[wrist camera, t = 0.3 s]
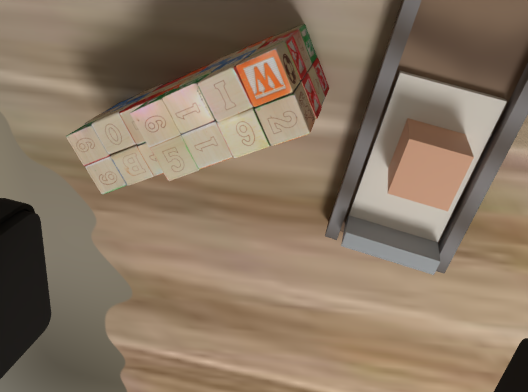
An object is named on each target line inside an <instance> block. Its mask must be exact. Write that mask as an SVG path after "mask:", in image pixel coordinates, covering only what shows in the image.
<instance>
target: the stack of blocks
mask: <svg viewBox="0 0 528 392" xmlns="http://www.w3.org/2000/svg"><path fill="white" fill-rule="evenodd" d="M328 90H329V86H328V84H327V81H326V78H325V76H324V73H323V70H322V68H321V65H320V63H319V60H318V58H317V56H316V53H315V51H314V48H313V45H312V42H311V40H310V37H309V34H308V32H307V29H306V26H305V24H303V25H300V26H298V27H296V28H293V29H291V30H288V31H286V32H284V33H281V34H279V35H277V36H274V37H273V36H272V37H269V38H267V39H265V40H262V41H260V42H258V43H255V44H253V45H251V46H248V47H246V48H244V49H241V50H239V51H236V52H234V53H232V54H229V55H227V56H225V57H222V58H220V59H218V60H216V61H214V62H213V63H211V64H209V65H207V66H205V67H202V68H200V69H198V70H195V71H193V72H191V73H189V74H187V75H185V76H183V77H181V78H178V79H176V80H174V81H171V82H169V83H167V84H165V85H164V84H161V85H159V86H156V87H154V88H152V89H149V90H147V91H145V92H142V93H140V94H138V95H136V96H134V97H132V98H130V99H127V100H125V101H123V102H121V103H118V104H116V105H115V106H113V107H112V108H110V109H108V110H107V111H105V112H103V113H101V114H99V115H98V116H96V117H94V118H93V119H91V120H89V121H88V122H86V123H85V125H84V126H82V127H80V128H79V129H77V130H75V131H74V132H72V133H70V134H69V135H67V136H66V137H67V139H68V141H69V143H70V144H71V146H72V147H73V149H74V151H75V152H76V154H77V156H78V157H79V159H80V161H81V162H82V164H83V165H84V166H85V167H86V169H87V171H88V173H89V174H90V176H91V178H92V179H93V181H94V182H95V184H96V186H97V187H98V189H99V191H100V192H101V194H105V193H108V192H111V191H114V190H116V189H119V188H122V187H124V186H126V185H132V184H134V183H137V182H140V181H143V180H145V179H148V178H151V177H153V176H157V175H160V174H163V173H164V174H165V176H166V178H167V180H168V181H171V180H174V179H176V178H179V177H182V176H185V175H187V174H190V173H193V172H196V171H199V170H200V169H201V168H205V167H208V166H210V165H213V164H216V163H219V162H222V161H225V160H227V159H230V158H232V157H233V158H237V157H240V156H243V155H246V154H249V153H252V152H255V151H258V150H261V149H264V148H267V147H269V146H270V145H272V146H275V145H277V144H280V143H284V142H287V141H290V140H293V139H296V138H299V137H302V136H305V135H307V134H309V133H310V132H311V129H312V127H313V124H314V122H315V120H316V119H317V118H318V116H319V114H320V111H321V108H322V107H321V106H322V104H323V101H324V99H325V97H326V95H327V92H328Z"/></svg>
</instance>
